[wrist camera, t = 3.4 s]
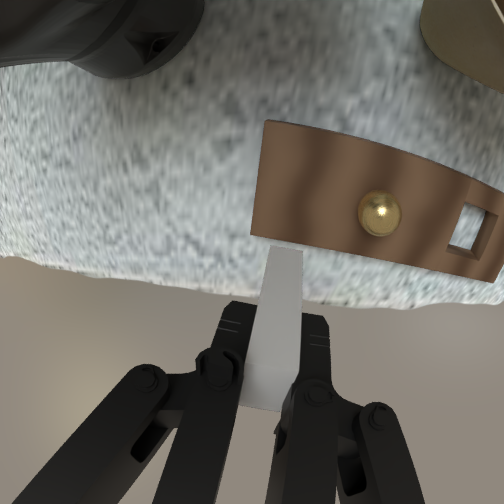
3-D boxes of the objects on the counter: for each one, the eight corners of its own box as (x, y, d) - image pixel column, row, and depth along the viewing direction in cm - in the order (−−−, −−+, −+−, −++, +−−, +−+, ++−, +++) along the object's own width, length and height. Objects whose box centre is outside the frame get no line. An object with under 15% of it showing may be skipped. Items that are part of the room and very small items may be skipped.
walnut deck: (253, 224, 29) (250, 234, 27) (267, 119, 23) (264, 120, 21) (485, 272, 27) (493, 283, 25) (516, 199, 21) (527, 207, 19)
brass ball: (349, 219, 24) (356, 239, 21) (360, 179, 22) (370, 193, 19) (387, 228, 24) (399, 249, 21) (399, 189, 22) (414, 205, 19)
